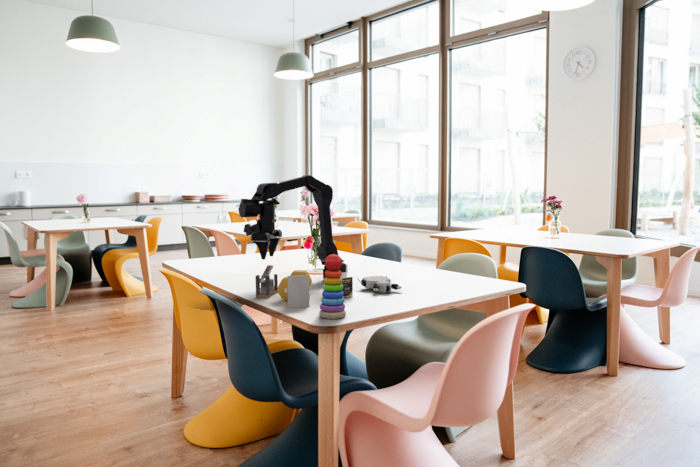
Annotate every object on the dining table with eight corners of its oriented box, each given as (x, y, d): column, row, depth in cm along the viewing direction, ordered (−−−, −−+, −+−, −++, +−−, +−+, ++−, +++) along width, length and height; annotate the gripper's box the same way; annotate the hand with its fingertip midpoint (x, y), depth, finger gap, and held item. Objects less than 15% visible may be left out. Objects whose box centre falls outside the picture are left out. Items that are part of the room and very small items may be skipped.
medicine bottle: (334, 298, 179) (334, 264, 178) (326, 294, 186) (325, 261, 185) (352, 296, 183) (352, 262, 182) (343, 292, 189) (343, 260, 188)
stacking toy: (333, 321, 149) (332, 256, 147) (313, 316, 154) (312, 254, 152) (351, 316, 155) (350, 254, 153) (332, 311, 160) (331, 251, 158)
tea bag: (309, 306, 167) (309, 276, 167) (288, 307, 166) (288, 277, 165) (308, 304, 171) (307, 274, 170) (288, 305, 170) (287, 275, 169)
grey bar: (268, 267, 190) (267, 264, 189) (273, 267, 189) (272, 264, 188) (259, 283, 181) (259, 280, 180) (265, 283, 181) (264, 280, 180)
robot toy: (403, 295, 189) (385, 285, 202) (404, 283, 188) (385, 274, 202) (373, 298, 184) (356, 287, 198) (373, 286, 183) (356, 276, 197)
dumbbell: (301, 302, 174) (301, 278, 173) (275, 301, 175) (275, 278, 175) (313, 291, 193) (313, 269, 192) (289, 290, 194) (289, 269, 193)
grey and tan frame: (266, 292, 191) (265, 271, 191) (277, 292, 191) (277, 271, 190) (255, 298, 181) (255, 276, 180) (268, 298, 180) (267, 276, 180)
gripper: (255, 215, 205) (255, 254, 206) (237, 217, 187) (237, 260, 188) (282, 215, 203) (282, 254, 204) (266, 218, 185) (267, 261, 186)
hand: (267, 257), depth 196 cm, fingers open, 9 cm apart
